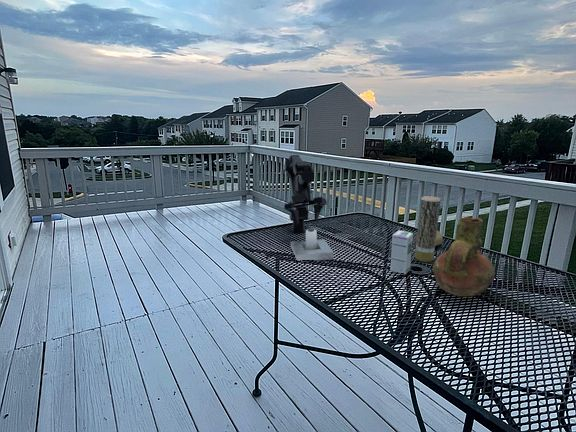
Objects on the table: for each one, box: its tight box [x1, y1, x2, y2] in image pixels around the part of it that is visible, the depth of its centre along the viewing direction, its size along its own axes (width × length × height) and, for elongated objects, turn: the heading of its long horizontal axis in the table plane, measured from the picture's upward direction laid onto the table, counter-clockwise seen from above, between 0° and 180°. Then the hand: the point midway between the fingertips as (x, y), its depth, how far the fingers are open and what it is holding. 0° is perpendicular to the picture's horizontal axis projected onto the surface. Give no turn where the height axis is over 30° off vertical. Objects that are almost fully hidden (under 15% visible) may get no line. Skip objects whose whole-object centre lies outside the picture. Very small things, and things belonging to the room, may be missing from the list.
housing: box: [290, 238, 334, 262], centre depth 136 cm, size 15×15×3 cm
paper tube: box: [414, 195, 442, 263], centre depth 125 cm, size 7×7×25 cm
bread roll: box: [415, 230, 444, 247], centre depth 141 cm, size 10×15×8 cm, turn 131°
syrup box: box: [389, 229, 414, 275], centre depth 118 cm, size 6×6×14 cm
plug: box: [305, 227, 318, 250], centre depth 135 cm, size 4×4×11 cm
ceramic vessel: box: [432, 216, 496, 297], centre depth 102 cm, size 17×26×25 cm, turn 141°
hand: (306, 223), depth 142 cm, fingers open, 9 cm apart
